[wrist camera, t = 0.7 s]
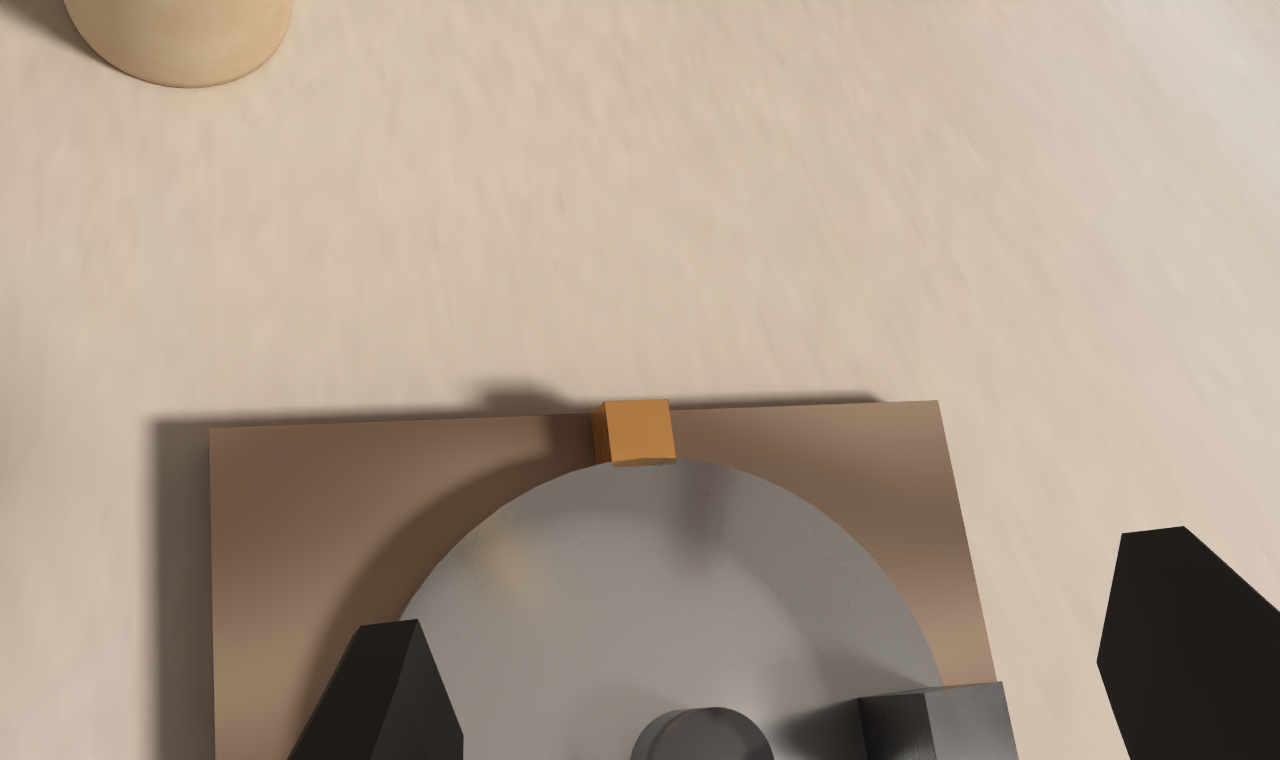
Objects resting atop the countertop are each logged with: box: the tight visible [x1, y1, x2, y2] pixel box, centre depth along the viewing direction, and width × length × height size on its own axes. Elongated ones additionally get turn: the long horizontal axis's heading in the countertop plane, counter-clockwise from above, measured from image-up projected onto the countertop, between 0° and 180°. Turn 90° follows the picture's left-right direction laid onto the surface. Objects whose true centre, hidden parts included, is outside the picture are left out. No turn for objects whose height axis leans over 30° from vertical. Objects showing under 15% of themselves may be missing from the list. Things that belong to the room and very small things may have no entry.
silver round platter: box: [397, 399, 1019, 760], centre depth 23 cm, size 15×14×4 cm
